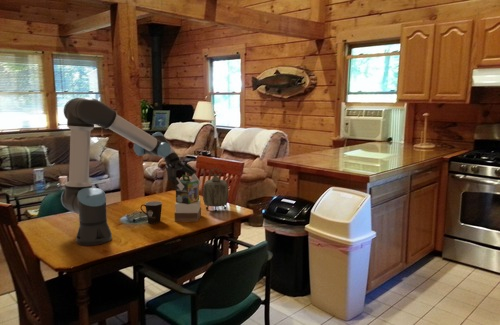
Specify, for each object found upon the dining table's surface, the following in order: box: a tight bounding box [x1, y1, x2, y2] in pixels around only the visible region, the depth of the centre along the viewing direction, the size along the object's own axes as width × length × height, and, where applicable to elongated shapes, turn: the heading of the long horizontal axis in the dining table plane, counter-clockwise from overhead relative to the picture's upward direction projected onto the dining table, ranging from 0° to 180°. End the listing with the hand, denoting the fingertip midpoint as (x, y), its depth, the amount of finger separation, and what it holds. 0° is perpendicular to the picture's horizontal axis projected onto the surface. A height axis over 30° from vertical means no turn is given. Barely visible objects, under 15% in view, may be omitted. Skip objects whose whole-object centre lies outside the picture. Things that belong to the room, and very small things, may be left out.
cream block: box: [174, 197, 202, 214], centre depth 211 cm, size 12×12×5 cm
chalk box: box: [174, 174, 200, 204], centre depth 208 cm, size 9×9×15 cm
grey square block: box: [174, 207, 202, 223], centre depth 211 cm, size 12×12×5 cm
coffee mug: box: [139, 200, 163, 224], centre depth 205 cm, size 12×9×10 cm
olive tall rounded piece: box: [202, 168, 229, 213], centre depth 223 cm, size 14×9×25 cm, turn 92°
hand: (191, 186), depth 207 cm, fingers open, 13 cm apart
